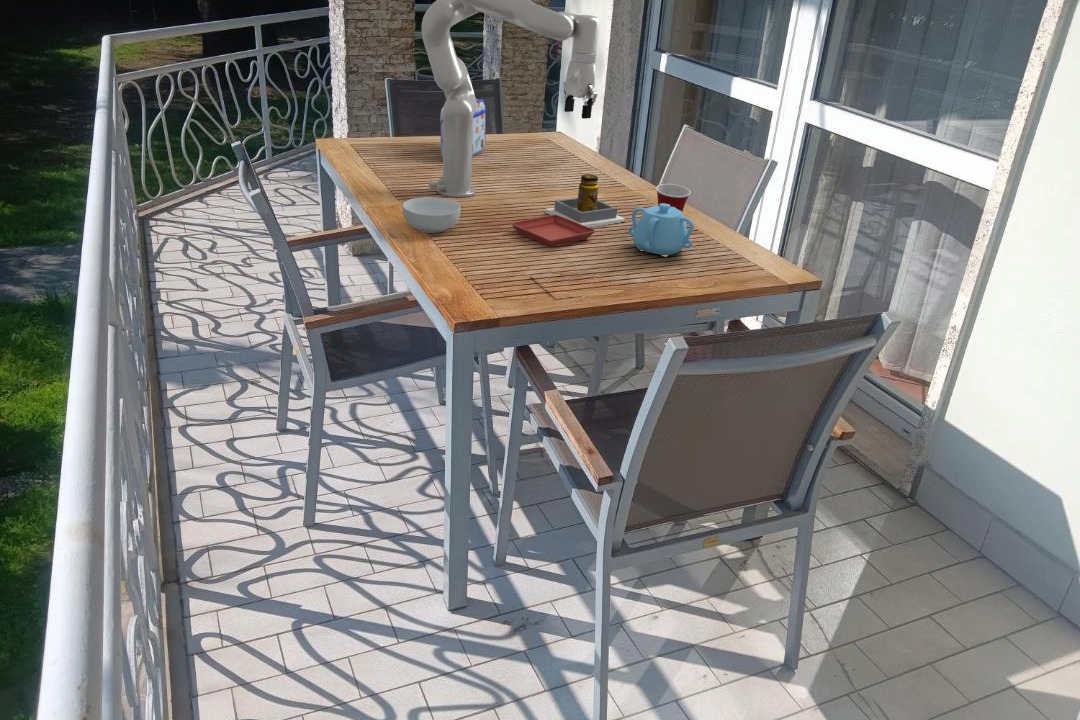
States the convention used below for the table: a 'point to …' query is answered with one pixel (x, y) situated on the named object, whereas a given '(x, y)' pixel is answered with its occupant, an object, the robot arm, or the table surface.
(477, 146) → the lunch box
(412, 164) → the table surface
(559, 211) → the holder
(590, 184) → the condiment
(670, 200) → the plastic cup
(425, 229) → the cereal bowl
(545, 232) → the plant saucer
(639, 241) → the decorative pot
